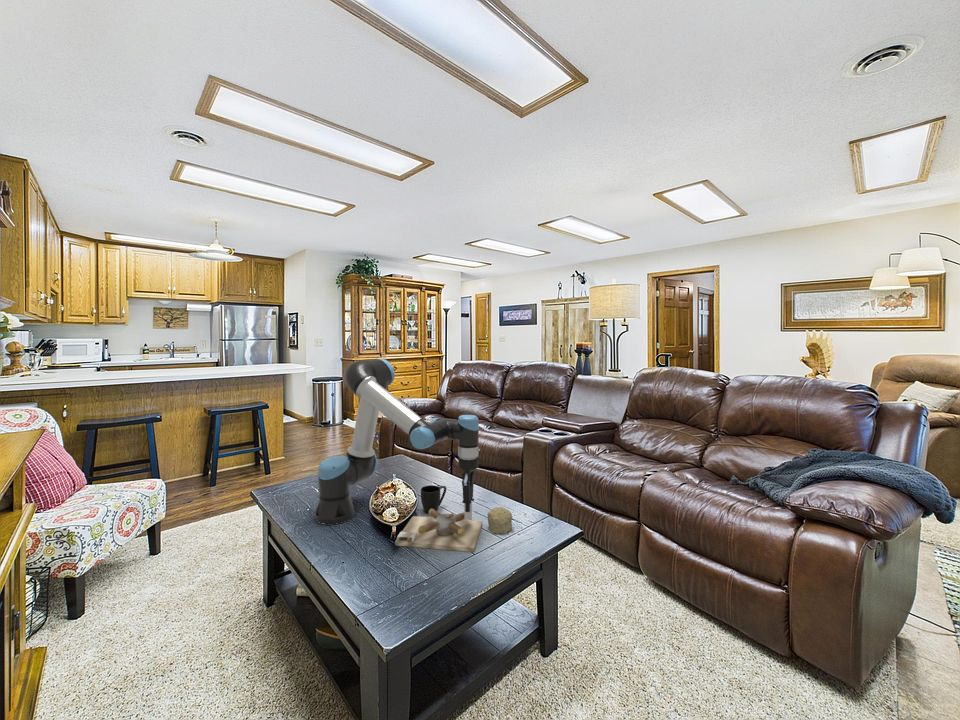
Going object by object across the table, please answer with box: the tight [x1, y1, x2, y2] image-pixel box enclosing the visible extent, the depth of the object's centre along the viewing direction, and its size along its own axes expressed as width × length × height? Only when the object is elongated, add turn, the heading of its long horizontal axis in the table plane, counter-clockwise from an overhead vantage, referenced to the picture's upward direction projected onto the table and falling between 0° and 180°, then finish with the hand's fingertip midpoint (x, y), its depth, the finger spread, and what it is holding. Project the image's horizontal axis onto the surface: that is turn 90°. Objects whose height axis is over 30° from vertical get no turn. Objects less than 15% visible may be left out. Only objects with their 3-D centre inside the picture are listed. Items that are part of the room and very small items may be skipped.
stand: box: [394, 515, 483, 553], centre depth 152 cm, size 28×20×3 cm
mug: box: [420, 484, 447, 515], centre depth 173 cm, size 8×12×10 cm
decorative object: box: [487, 506, 513, 535], centre depth 157 cm, size 9×10×10 cm
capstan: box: [418, 509, 465, 536], centre depth 151 cm, size 23×23×6 cm
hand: (468, 518), depth 154 cm, fingers closed
